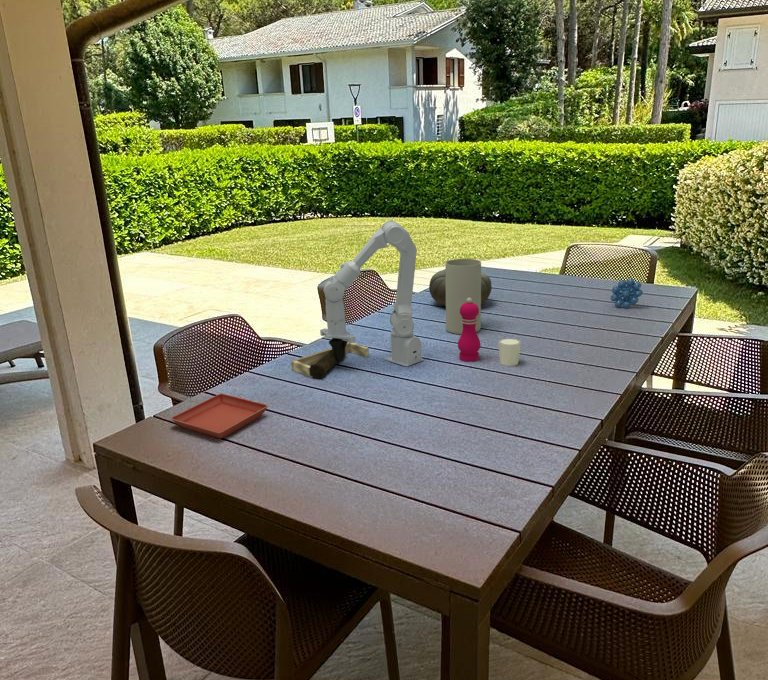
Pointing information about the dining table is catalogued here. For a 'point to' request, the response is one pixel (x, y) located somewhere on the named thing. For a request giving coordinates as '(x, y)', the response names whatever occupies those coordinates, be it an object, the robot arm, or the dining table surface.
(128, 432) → the dining table surface
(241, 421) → the plant saucer
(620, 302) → the grapes
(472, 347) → the pepper mill
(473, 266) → the cylinder vase
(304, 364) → the beige bent bracket
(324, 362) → the hand tool
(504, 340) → the cream cylinder
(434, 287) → the gourd
